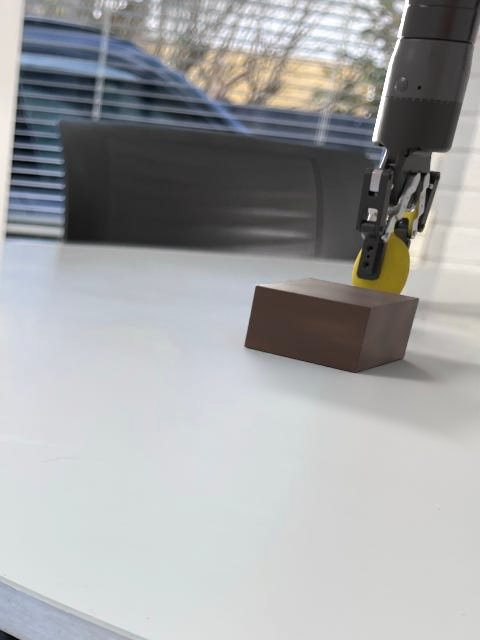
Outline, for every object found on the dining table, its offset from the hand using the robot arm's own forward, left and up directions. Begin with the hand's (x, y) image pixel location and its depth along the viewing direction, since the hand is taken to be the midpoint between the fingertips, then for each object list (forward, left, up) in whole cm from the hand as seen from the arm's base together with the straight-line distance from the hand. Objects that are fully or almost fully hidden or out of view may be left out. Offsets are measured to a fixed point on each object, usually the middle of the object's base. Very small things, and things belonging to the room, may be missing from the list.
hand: (379, 276), depth 110 cm
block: (+26, +7, -3) cm, 27 cm away
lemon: (0, 0, -4) cm, 4 cm away
